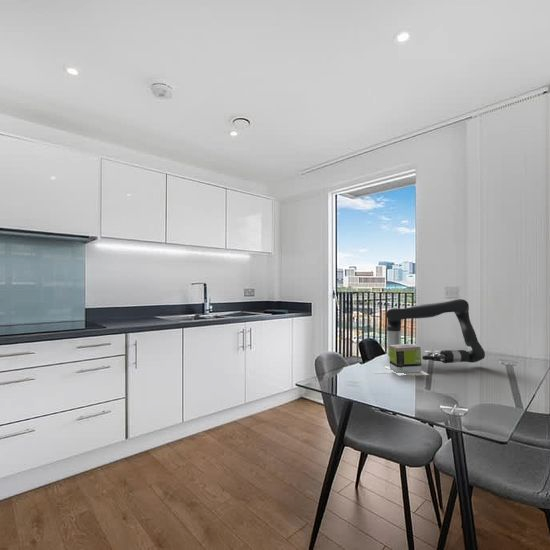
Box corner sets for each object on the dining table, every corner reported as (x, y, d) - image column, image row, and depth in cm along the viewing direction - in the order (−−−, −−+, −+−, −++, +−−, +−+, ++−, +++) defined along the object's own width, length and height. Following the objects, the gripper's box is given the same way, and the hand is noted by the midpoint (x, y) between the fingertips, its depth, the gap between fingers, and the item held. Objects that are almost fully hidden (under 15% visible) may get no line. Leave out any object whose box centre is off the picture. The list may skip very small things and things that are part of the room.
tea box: (413, 367, 200) (412, 343, 201) (421, 372, 190) (421, 346, 191) (389, 368, 199) (388, 344, 199) (396, 373, 189) (396, 347, 189)
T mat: (364, 368, 203) (364, 367, 203) (411, 365, 206) (411, 365, 206) (378, 377, 183) (378, 377, 183) (429, 375, 186) (429, 374, 186)
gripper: (443, 347, 205) (417, 349, 203) (457, 352, 192) (429, 354, 190) (443, 360, 205) (417, 361, 203) (457, 365, 192) (429, 367, 190)
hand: (423, 357), depth 197 cm, fingers closed
